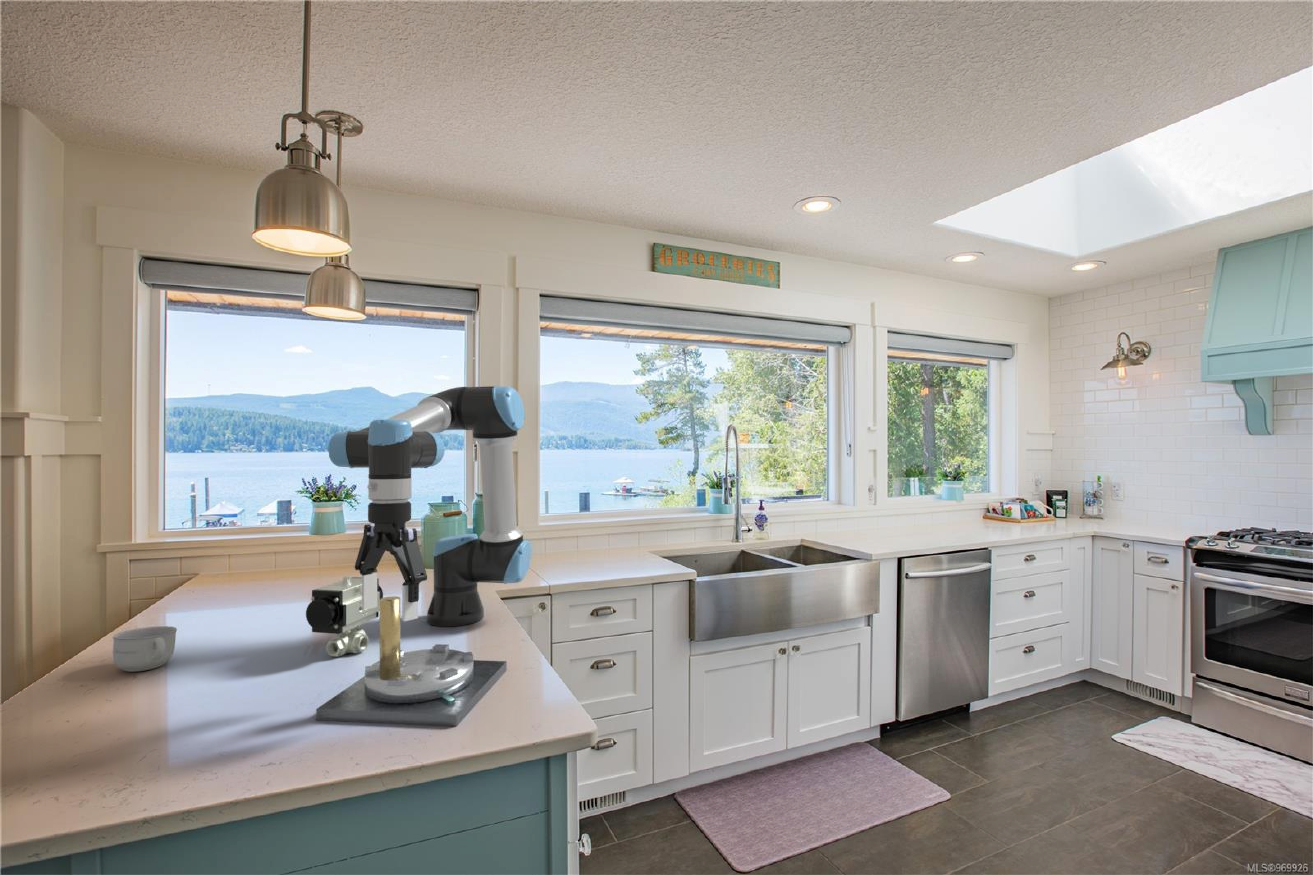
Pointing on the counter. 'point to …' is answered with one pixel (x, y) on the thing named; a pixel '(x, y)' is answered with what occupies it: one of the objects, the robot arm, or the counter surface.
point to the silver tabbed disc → (413, 665)
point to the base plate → (430, 712)
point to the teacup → (143, 647)
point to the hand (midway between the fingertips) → (389, 613)
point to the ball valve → (342, 615)
